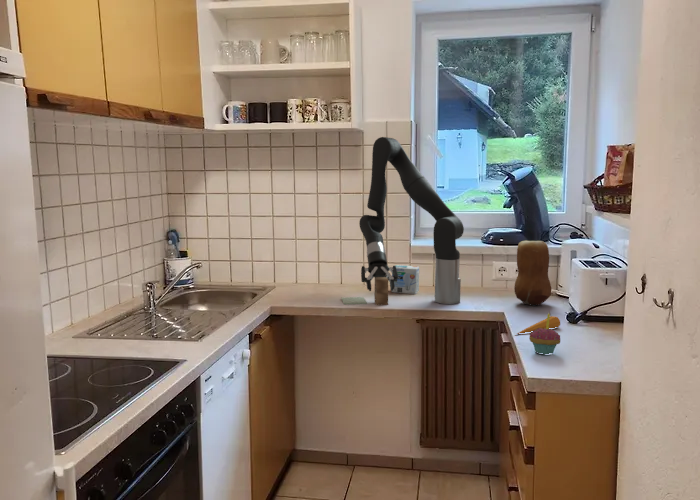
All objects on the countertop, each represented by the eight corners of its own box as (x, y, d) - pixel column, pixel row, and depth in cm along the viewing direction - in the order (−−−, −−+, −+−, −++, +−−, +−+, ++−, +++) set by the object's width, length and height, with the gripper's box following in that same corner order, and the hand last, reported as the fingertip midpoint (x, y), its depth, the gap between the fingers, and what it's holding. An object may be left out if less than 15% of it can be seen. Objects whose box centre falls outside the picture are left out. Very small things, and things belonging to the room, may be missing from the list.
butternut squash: (530, 299, 237) (532, 237, 233) (557, 305, 225) (561, 240, 222) (505, 303, 229) (508, 239, 226) (533, 310, 218) (536, 243, 214)
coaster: (363, 298, 238) (363, 297, 238) (366, 303, 229) (366, 302, 229) (341, 299, 237) (341, 297, 236) (343, 304, 228) (343, 302, 228)
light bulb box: (391, 292, 249) (391, 267, 247) (394, 289, 255) (395, 264, 254) (416, 294, 246) (416, 268, 244) (419, 291, 252) (419, 266, 250)
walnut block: (385, 302, 232) (386, 277, 230) (388, 304, 227) (388, 279, 226) (374, 302, 231) (374, 277, 229) (376, 305, 227) (376, 279, 225)
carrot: (554, 329, 198) (550, 315, 198) (564, 327, 194) (560, 313, 194) (510, 343, 188) (506, 329, 189) (520, 341, 184) (515, 327, 185)
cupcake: (535, 346, 175) (537, 307, 174) (564, 352, 170) (566, 311, 168) (524, 353, 169) (525, 312, 167) (553, 360, 163) (555, 317, 162)
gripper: (360, 250, 234) (364, 284, 224) (395, 249, 235) (401, 284, 226) (358, 261, 240) (362, 295, 230) (392, 260, 241) (397, 294, 232)
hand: (381, 289), depth 228 cm, fingers open, 8 cm apart
